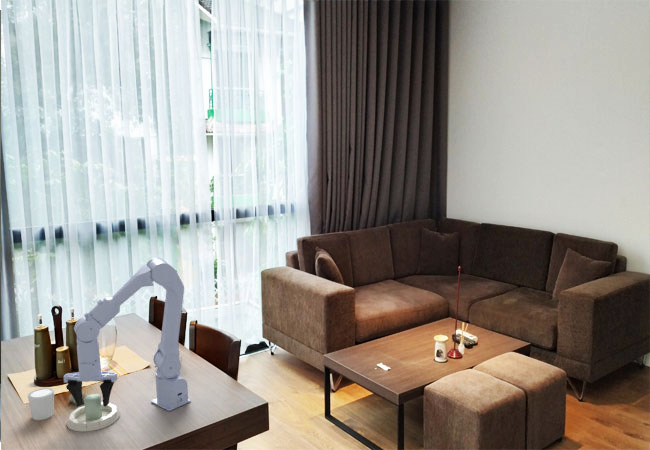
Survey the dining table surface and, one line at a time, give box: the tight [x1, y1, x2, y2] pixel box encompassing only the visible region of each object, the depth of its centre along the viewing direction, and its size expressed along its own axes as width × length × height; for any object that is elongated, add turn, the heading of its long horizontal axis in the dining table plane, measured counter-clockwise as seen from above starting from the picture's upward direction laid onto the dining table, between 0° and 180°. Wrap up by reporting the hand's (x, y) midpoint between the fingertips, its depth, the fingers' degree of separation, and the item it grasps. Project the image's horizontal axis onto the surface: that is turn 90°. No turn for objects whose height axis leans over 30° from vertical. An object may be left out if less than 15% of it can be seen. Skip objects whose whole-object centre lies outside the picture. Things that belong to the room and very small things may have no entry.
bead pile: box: [67, 391, 89, 405], centre depth 170 cm, size 6×5×2 cm
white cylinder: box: [27, 387, 55, 421], centre depth 162 cm, size 7×7×7 cm
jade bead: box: [83, 393, 102, 421], centre depth 160 cm, size 4×4×6 cm
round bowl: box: [66, 401, 121, 433], centre depth 160 cm, size 14×14×2 cm
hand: (93, 404), depth 159 cm, fingers open, 7 cm apart
